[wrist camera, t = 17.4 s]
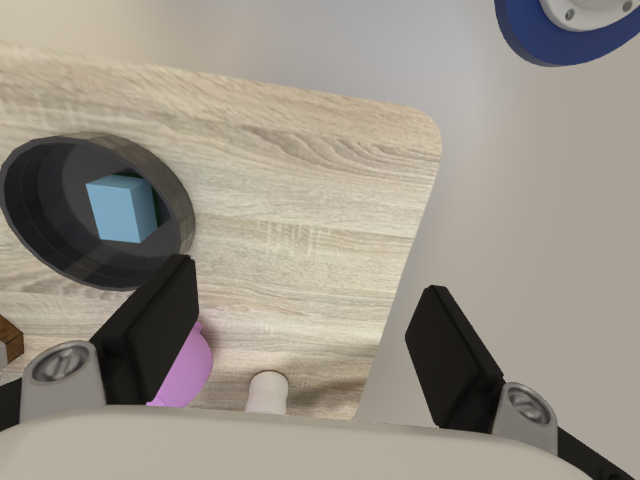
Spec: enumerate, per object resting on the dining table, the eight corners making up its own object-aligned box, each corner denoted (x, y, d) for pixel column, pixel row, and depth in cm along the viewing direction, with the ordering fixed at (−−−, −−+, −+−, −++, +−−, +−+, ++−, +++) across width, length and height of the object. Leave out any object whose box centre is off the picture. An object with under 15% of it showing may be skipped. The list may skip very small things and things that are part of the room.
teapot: (115, 274, 40) (27, 352, 27) (222, 289, 41) (185, 369, 29) (131, 371, 49) (72, 460, 37) (218, 380, 51) (189, 468, 39)
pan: (31, 102, 29) (-14, 103, 25) (208, 170, 33) (194, 180, 29) (39, 246, 37) (6, 263, 33) (181, 287, 41) (167, 308, 37)
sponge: (116, 172, 32) (85, 183, 28) (154, 176, 33) (129, 189, 28) (126, 221, 35) (100, 239, 31) (161, 225, 36) (140, 243, 31)
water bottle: (290, 371, 51) (274, 583, 28) (286, 394, 54) (267, 601, 32) (252, 367, 50) (205, 582, 28) (250, 391, 53) (205, 600, 31)
